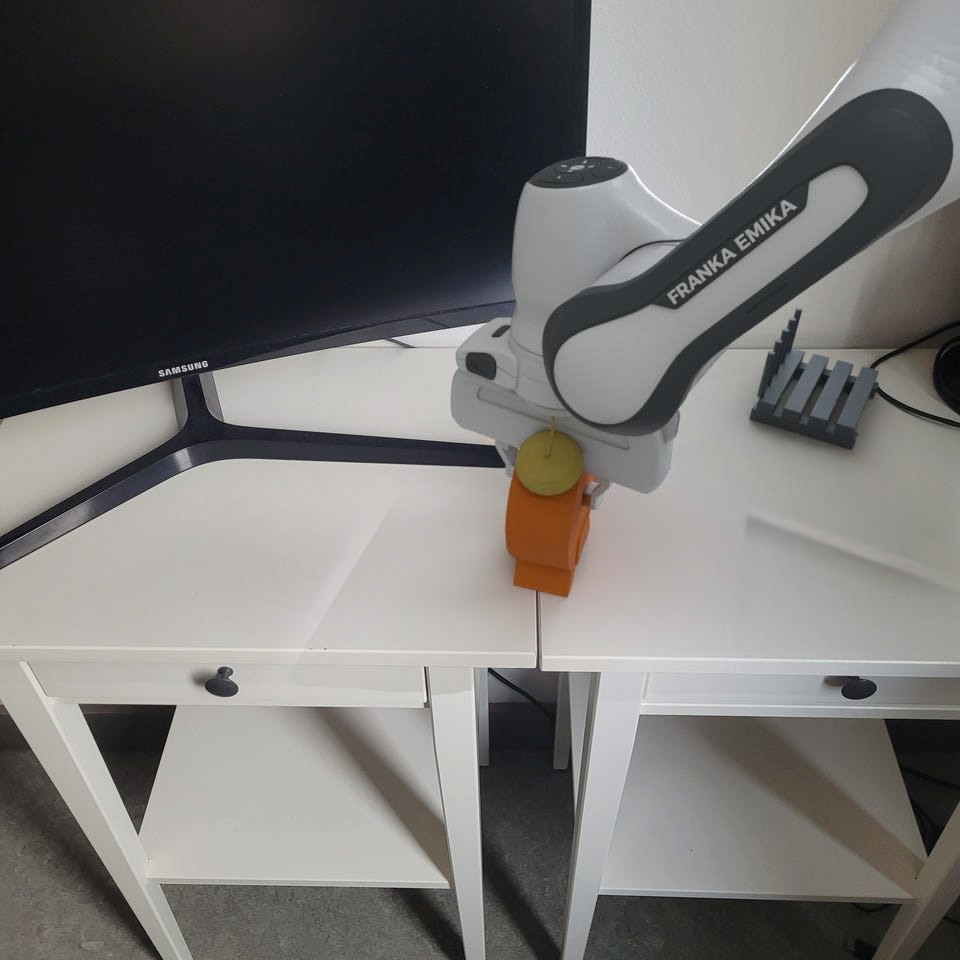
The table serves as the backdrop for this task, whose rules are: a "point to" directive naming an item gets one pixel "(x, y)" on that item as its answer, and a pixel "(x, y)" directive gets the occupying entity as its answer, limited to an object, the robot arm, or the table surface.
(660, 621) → the table surface
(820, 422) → the rack
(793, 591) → the table surface
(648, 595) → the table surface
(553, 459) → the alarm clock
